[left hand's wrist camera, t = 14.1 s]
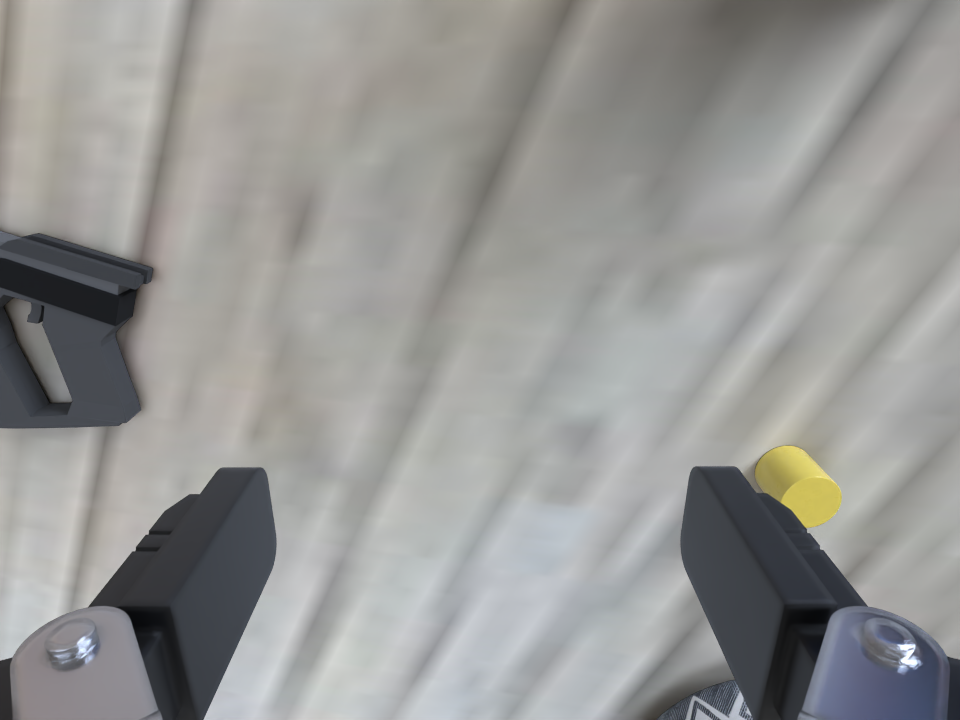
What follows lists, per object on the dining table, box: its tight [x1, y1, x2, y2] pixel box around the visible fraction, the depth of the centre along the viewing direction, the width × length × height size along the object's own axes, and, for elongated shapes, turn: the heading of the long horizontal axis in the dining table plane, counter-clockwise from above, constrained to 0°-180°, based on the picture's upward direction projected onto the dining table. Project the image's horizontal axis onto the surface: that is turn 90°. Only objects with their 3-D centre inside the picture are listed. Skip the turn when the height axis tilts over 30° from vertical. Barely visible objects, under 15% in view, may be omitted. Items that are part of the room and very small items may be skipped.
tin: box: [755, 446, 842, 528], centre depth 47 cm, size 4×4×5 cm
